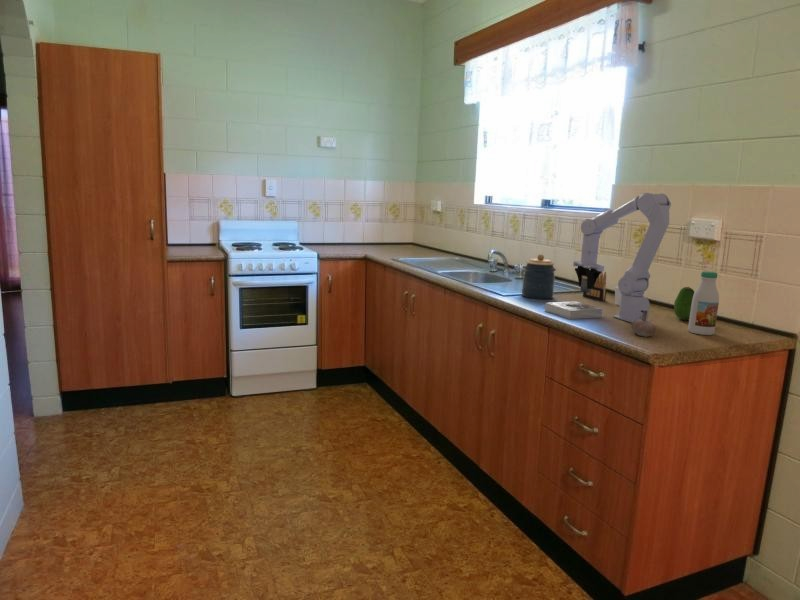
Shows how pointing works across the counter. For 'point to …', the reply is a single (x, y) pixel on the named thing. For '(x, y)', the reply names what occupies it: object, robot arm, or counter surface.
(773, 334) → the counter surface
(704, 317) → the milk bottle
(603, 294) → the ammunition clip
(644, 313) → the garlic bulb
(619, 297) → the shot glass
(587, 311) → the block
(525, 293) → the canister
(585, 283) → the bushing
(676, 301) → the avocado
